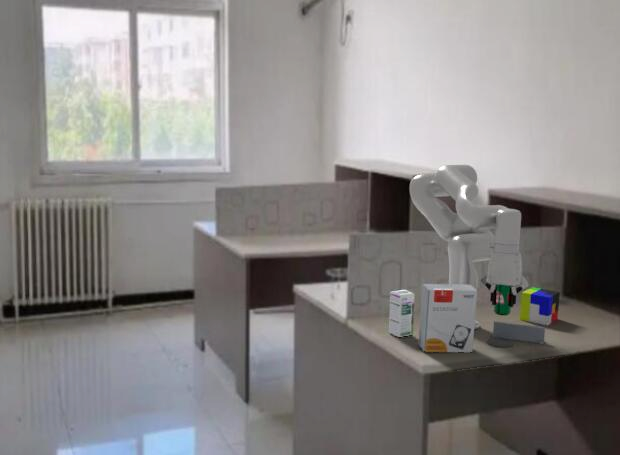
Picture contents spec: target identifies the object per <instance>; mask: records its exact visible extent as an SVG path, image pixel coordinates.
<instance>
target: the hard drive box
mask: <svg viewBox="0 0 620 455" xmlns="http://www.w3.org/2000/svg"><path fill="white" fill-rule="evenodd" d="M477 301H478V289H477V290H476V289H475V288H474V287H472V286H471V285H465V284H449V283H447V284H446V283H445V284H443V283H423V284H422V285H421V300H420V314H419V315H420V316H419V332H418V344H419V345H418V346H419V347H420V348H422V349H421V350H422V351H423V352H424V351H425V352H424V353H433V352H439V353H458V352H464V353H470V352H472V353H473V349H474V336H475V330H474V326H475V320H476V314H475V313H476V310H477Z"/></svg>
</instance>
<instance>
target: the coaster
mask: <svg viewBox="0 0 620 455" xmlns="http://www.w3.org/2000/svg"><path fill="white" fill-rule="evenodd" d="M486 343H487V345H489V346H491V347H494V348H495V347H496V348H510V347H512V346H513V344H514V342H513V341H512V339H506V338H499V337H494V338H492V337H490V338H489V337H488V338H487V339H486Z"/></svg>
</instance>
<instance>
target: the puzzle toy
mask: <svg viewBox="0 0 620 455" xmlns="http://www.w3.org/2000/svg"><path fill="white" fill-rule="evenodd" d="M560 293H561V292H560V291H556V290H550V289H544V288H540V287H539V288H538V287H532V286H531V287H530V288H527V289H526V290H524V291H522V292H521V299H520V309H519V310H520V312H519V320H520V321H525V322H529V323H535V324H539V325H543V326H549V325H551V324H552V323H553V322H555V321H557V320H558V319H559V318H558V317H559V305H560V304H559V303H560Z"/></svg>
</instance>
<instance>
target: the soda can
mask: <svg viewBox="0 0 620 455" xmlns="http://www.w3.org/2000/svg"><path fill="white" fill-rule="evenodd" d="M511 294H512V288H511V286H505V285H496V287H495V305H493V306H494V307H493V312H494V313H495V315H499V316H508V315H510V314H511V311H512V310H511V309H512V307H510V302H511Z"/></svg>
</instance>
